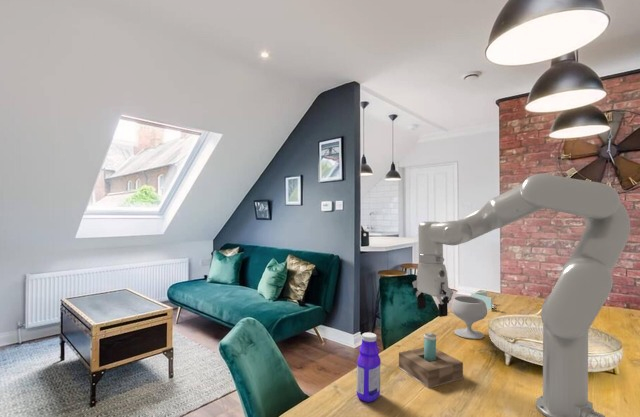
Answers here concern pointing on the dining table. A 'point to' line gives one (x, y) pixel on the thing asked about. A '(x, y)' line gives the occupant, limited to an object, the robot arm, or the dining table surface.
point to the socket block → (430, 367)
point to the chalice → (469, 315)
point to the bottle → (368, 369)
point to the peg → (430, 347)
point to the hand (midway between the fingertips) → (431, 312)
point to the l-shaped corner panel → (484, 298)
